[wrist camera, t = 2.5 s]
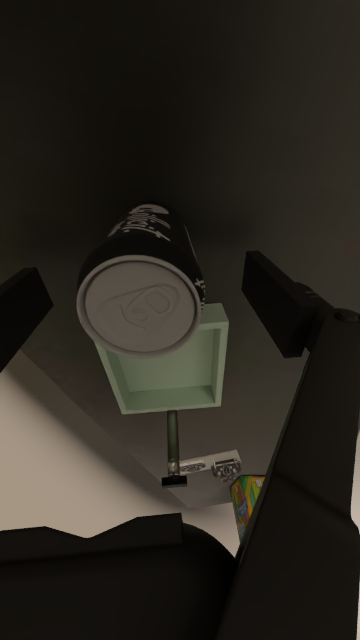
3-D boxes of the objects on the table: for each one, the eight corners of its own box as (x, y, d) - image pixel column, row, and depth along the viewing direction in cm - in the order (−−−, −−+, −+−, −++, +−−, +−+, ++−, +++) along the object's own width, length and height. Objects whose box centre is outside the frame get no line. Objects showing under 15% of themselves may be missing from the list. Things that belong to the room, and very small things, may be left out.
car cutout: (236, 448, 47) (242, 472, 43) (240, 460, 50) (246, 483, 47) (170, 462, 49) (171, 486, 45) (179, 472, 52) (181, 495, 49)
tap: (160, 382, 32) (158, 476, 22) (179, 380, 32) (186, 474, 22) (163, 397, 34) (162, 489, 24) (180, 396, 34) (187, 487, 24)
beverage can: (99, 233, 19) (33, 306, 9) (157, 182, 17) (148, 207, 7) (148, 286, 22) (135, 380, 13) (201, 248, 20) (234, 326, 11)
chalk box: (272, 475, 57) (301, 558, 45) (258, 487, 62) (281, 565, 50) (239, 474, 55) (260, 561, 43) (228, 487, 60) (244, 568, 48)
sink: (99, 312, 24) (90, 332, 21) (221, 302, 24) (229, 321, 21) (125, 392, 33) (122, 414, 30) (215, 384, 33) (220, 406, 30)
